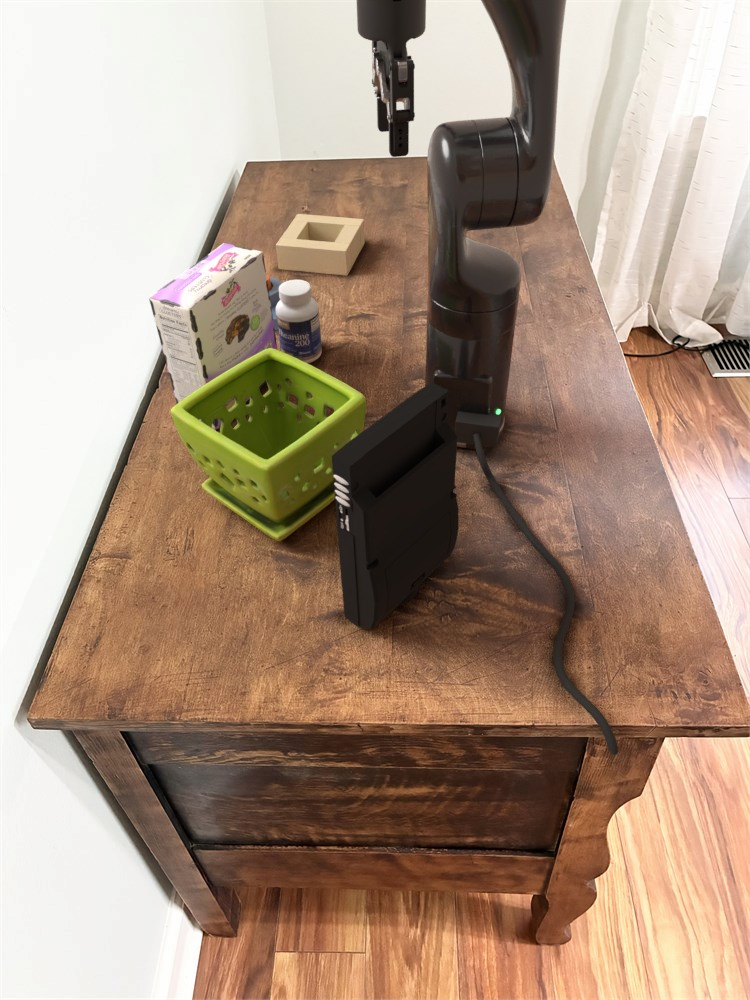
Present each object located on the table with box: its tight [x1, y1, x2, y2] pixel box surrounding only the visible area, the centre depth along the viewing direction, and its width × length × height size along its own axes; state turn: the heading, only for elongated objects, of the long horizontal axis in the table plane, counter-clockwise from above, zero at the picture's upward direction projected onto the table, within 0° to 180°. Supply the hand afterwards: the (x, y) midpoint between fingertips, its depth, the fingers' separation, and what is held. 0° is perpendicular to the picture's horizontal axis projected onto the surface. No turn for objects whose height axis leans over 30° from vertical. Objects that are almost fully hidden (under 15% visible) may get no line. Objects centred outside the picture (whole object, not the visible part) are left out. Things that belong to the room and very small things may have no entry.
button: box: [266, 272, 271, 290], centre depth 105 cm, size 3×3×2 cm
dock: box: [275, 213, 366, 276], centre depth 117 cm, size 11×11×4 cm
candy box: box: [148, 242, 278, 431], centre depth 88 cm, size 14×6×16 cm, turn 152°
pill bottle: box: [276, 279, 323, 364], centre depth 96 cm, size 5×5×10 cm
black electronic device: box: [332, 382, 460, 630], centre depth 64 cm, size 12×5×20 cm, turn 139°
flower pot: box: [170, 348, 367, 542], centre depth 76 cm, size 14×14×13 cm
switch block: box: [269, 275, 285, 331], centre depth 107 cm, size 10×8×4 cm
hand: (392, 142), depth 92 cm, fingers open, 8 cm apart
